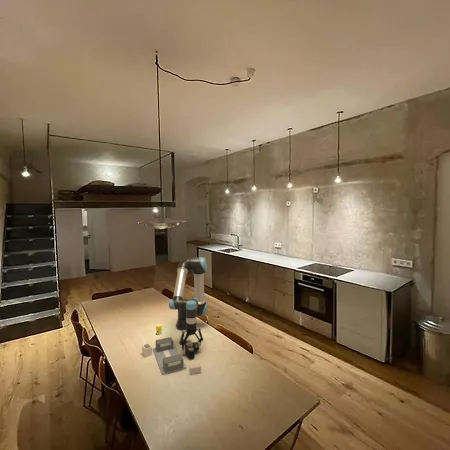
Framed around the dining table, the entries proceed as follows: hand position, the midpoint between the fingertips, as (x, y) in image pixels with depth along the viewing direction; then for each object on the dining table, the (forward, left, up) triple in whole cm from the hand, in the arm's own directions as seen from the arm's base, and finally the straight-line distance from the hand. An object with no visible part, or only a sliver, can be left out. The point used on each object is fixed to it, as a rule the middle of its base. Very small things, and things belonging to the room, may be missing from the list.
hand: (191, 351), depth 194 cm
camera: (0, 0, -1) cm, 1 cm away
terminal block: (+5, +23, -1) cm, 23 cm away
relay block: (+30, -12, -1) cm, 32 cm away
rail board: (+17, 0, -1) cm, 17 cm away
